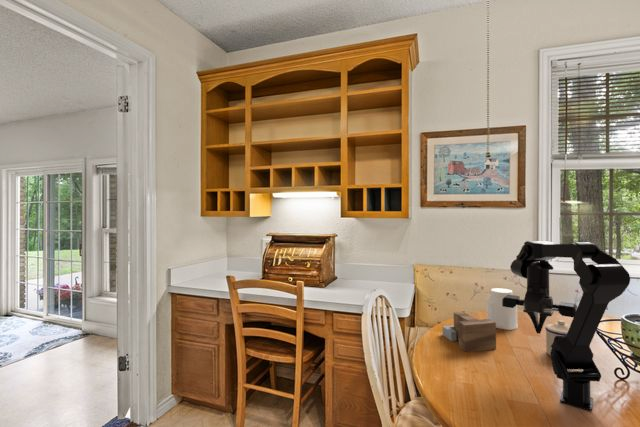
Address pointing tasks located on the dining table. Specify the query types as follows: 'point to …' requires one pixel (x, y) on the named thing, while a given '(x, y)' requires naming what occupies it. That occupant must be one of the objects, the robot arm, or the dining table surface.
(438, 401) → the dining table surface
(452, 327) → the stop bracket
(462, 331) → the tee block
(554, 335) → the teacup with lid
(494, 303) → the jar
